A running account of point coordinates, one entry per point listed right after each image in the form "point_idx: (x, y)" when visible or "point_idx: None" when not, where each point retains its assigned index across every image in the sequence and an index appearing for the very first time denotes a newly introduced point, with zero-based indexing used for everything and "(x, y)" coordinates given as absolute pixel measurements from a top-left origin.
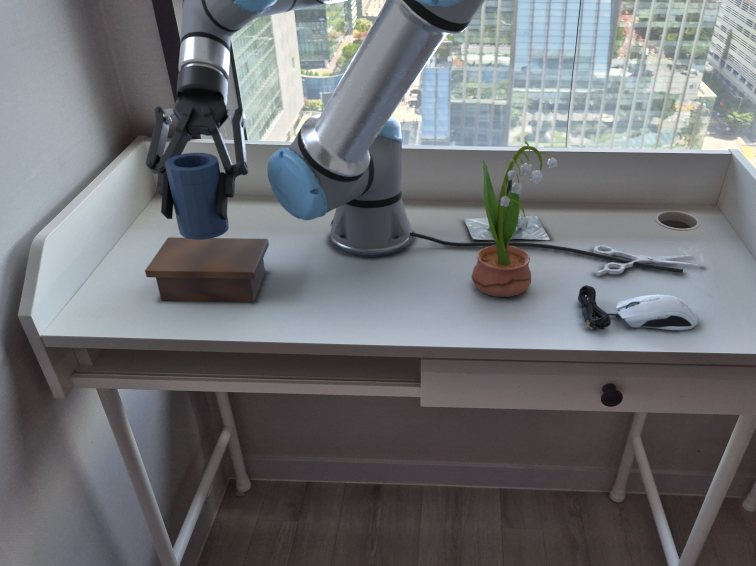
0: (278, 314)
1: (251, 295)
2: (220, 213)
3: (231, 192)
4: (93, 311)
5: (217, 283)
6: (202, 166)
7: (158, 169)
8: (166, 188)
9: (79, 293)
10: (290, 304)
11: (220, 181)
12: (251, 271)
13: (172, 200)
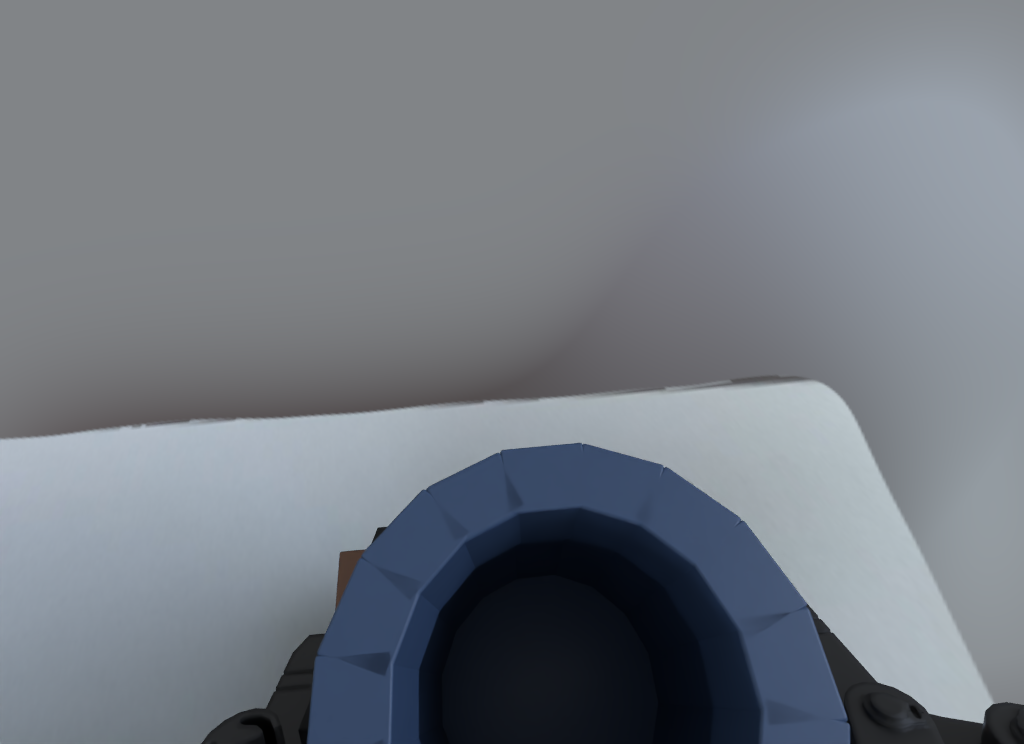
0: (311, 535)
1: None
2: (384, 529)
3: (301, 647)
4: (812, 488)
5: None
6: (421, 551)
7: (896, 694)
8: None
9: (934, 581)
10: (279, 596)
11: None
12: (347, 556)
13: None
